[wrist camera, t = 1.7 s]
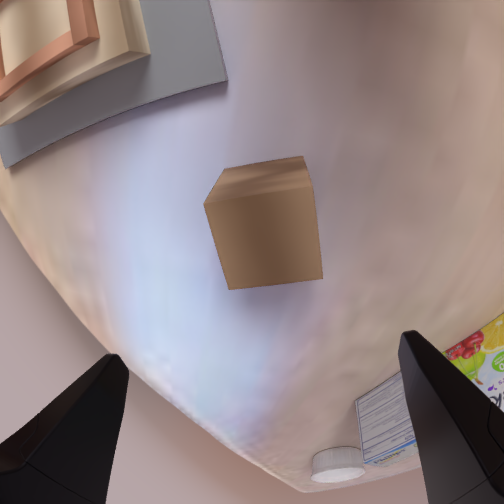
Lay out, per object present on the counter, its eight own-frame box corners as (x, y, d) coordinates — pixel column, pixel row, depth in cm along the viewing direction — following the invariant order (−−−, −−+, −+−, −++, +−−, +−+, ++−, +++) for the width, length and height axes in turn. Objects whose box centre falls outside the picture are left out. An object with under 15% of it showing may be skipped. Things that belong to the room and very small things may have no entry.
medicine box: (375, 408, 32) (384, 468, 25) (353, 399, 31) (361, 465, 24) (426, 375, 29) (445, 438, 21) (407, 363, 28) (427, 433, 20)
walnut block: (302, 155, 18) (312, 186, 13) (312, 226, 21) (323, 278, 16) (224, 168, 19) (203, 203, 14) (241, 237, 22) (228, 290, 16)
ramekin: (355, 460, 43) (357, 480, 39) (307, 463, 43) (307, 484, 40) (369, 442, 38) (372, 465, 34) (314, 445, 39) (314, 470, 35)
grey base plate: (179, -116, 7) (176, -121, 7) (228, 80, 16) (226, 80, 15) (-17, 3, 11) (-23, 3, 10) (11, 166, 19) (5, 169, 19)
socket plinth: (125, -79, 9) (96, -100, 5) (151, 53, 15) (118, 49, 11) (3, 1, 11) (-32, 0, 7) (21, 120, 17) (-17, 133, 13)
